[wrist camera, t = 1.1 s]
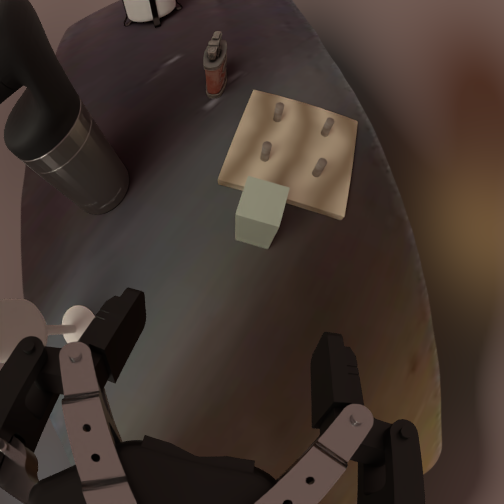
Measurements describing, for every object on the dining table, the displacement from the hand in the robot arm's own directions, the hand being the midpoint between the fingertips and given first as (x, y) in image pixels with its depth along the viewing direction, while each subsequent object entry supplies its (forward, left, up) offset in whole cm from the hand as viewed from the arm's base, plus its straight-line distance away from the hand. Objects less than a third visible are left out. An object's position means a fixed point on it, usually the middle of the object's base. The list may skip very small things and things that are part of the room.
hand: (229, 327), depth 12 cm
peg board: (-11, +23, -24) cm, 36 cm away
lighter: (-30, +24, -25) cm, 46 cm away
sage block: (-6, +10, -24) cm, 27 cm away
